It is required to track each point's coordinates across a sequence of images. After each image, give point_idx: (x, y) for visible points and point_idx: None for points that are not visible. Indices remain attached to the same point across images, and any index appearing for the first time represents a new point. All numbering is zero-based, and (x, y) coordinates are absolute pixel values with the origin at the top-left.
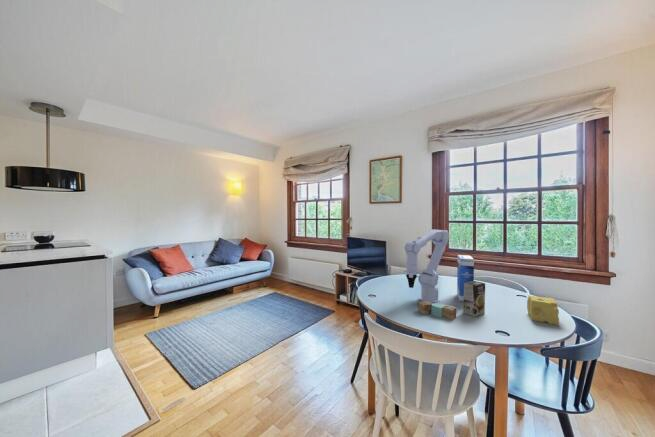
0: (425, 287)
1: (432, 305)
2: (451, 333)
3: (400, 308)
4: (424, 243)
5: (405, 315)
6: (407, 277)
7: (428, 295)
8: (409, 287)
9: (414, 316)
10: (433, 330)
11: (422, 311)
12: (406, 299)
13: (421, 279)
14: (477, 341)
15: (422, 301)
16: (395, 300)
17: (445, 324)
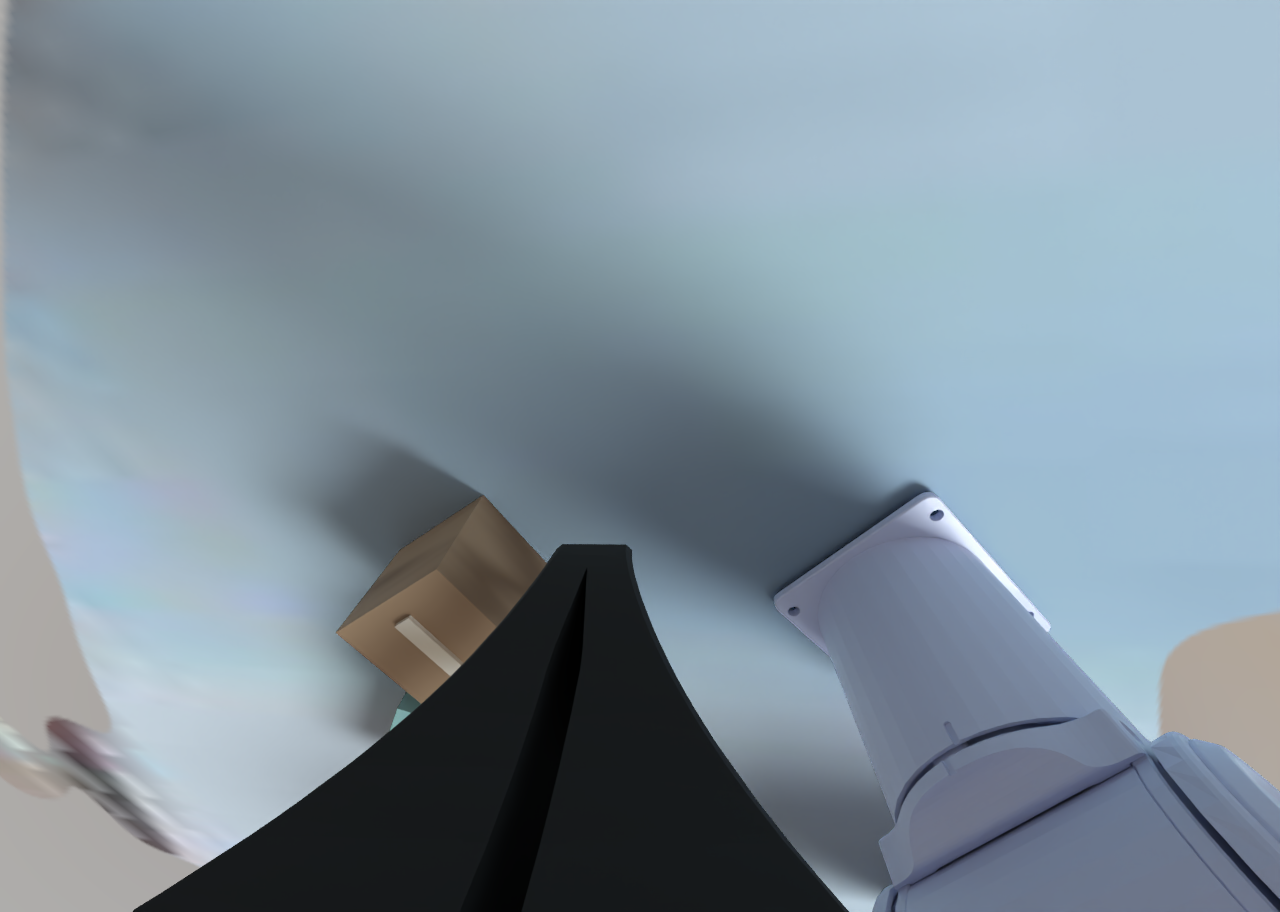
0: (915, 772)
1: (397, 716)
2: (144, 722)
3: (436, 261)
4: None
5: (227, 355)
6: (196, 905)
7: (845, 684)
8: (556, 551)
9: (276, 461)
10: (82, 618)
11: (402, 557)
12: (890, 324)
13: (1155, 899)
14: (154, 824)
15: (482, 621)
16: (787, 121)
17: (286, 702)
